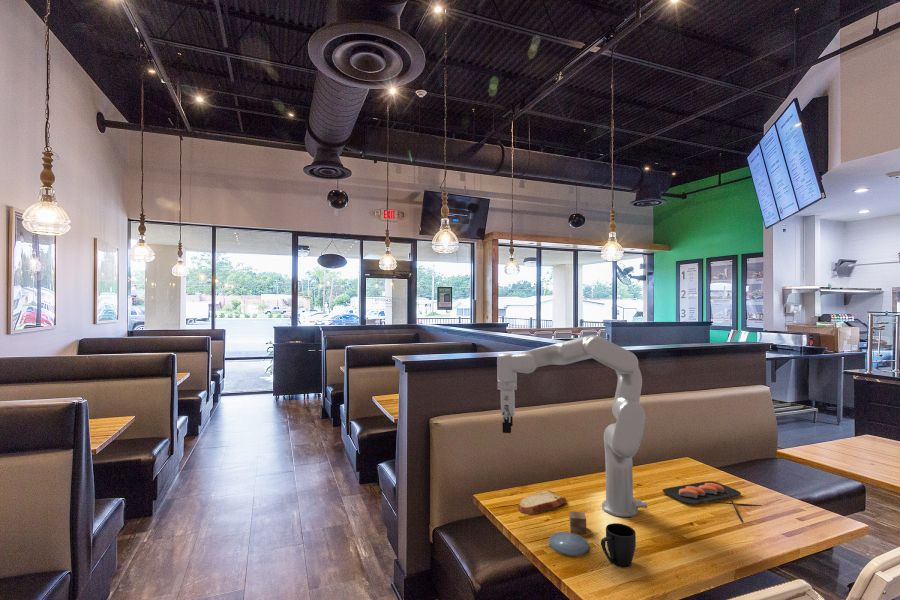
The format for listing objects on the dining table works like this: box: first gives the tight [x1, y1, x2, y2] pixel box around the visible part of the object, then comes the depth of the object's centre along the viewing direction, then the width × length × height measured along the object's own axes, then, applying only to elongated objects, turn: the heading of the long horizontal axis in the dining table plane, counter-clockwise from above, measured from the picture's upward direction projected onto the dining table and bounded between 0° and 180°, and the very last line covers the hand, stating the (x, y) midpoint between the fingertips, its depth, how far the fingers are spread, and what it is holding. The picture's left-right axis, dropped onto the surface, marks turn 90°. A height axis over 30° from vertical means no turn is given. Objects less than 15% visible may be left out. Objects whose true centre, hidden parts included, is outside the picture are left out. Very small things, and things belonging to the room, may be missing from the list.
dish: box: [548, 531, 589, 557], centre depth 136 cm, size 12×12×1 cm
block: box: [568, 510, 587, 535], centre depth 146 cm, size 5×5×5 cm
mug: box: [600, 522, 637, 569], centre depth 126 cm, size 8×12×10 cm
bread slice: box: [517, 490, 567, 515], centre depth 165 cm, size 18×18×4 cm
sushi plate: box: [662, 480, 763, 524], centre depth 166 cm, size 29×30×4 cm
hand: (507, 429), depth 166 cm, fingers open, 9 cm apart
